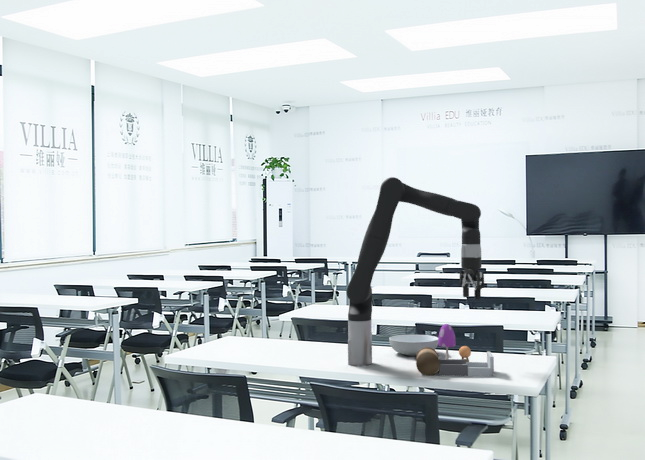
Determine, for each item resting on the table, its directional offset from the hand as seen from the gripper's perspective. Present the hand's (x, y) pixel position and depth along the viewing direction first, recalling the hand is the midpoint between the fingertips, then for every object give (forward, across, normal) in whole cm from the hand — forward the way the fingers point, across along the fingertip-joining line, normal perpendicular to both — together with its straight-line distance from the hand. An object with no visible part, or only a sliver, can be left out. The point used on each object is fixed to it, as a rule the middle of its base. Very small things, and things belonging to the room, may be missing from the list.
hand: (471, 298), depth 245 cm
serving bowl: (+26, -29, -11) cm, 41 cm away
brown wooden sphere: (+26, +5, -22) cm, 34 cm away
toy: (+26, -9, -6) cm, 28 cm away
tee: (+26, +4, -6) cm, 27 cm away
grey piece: (+26, +11, -9) cm, 30 cm away
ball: (+20, +4, -6) cm, 21 cm away
